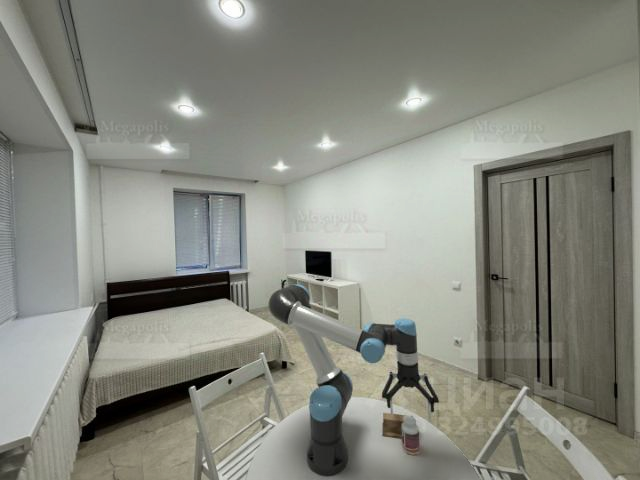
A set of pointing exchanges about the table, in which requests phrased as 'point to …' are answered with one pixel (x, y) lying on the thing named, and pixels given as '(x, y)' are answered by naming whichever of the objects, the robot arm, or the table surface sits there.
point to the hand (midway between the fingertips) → (410, 417)
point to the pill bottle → (410, 435)
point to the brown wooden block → (392, 425)
